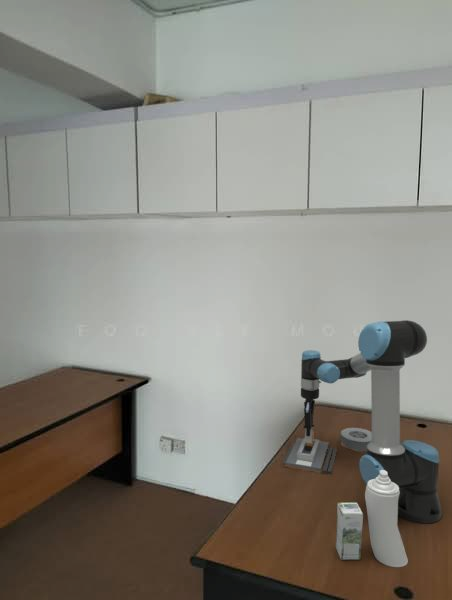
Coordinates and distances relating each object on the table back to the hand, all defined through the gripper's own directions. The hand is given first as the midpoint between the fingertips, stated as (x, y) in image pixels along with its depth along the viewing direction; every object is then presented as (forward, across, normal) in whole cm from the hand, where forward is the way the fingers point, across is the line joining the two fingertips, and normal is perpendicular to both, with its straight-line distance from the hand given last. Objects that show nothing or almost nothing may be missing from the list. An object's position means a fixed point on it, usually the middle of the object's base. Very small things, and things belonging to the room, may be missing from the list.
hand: (308, 442), depth 194 cm
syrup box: (+7, -59, -21) cm, 63 cm away
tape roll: (+7, +20, -19) cm, 29 cm away
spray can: (+7, -56, -31) cm, 64 cm away
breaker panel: (+7, 0, -1) cm, 7 cm away
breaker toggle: (+4, +3, 0) cm, 5 cm away
